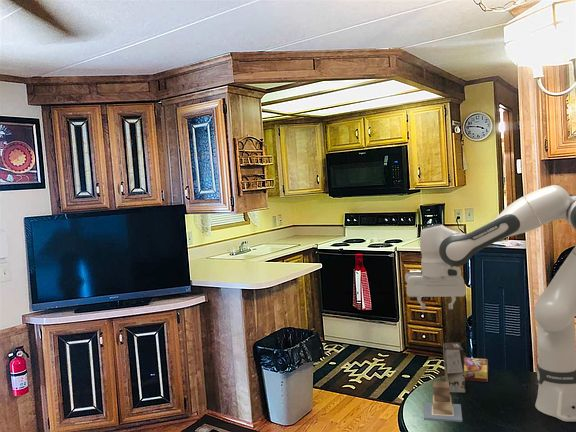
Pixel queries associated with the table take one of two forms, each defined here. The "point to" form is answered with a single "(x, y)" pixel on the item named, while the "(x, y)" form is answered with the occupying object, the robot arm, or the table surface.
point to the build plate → (454, 417)
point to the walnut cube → (441, 391)
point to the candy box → (476, 369)
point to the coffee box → (454, 366)
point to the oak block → (442, 407)
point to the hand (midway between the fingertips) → (436, 308)
